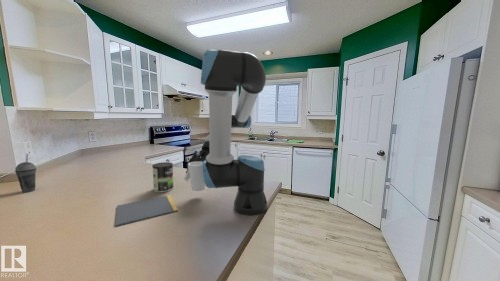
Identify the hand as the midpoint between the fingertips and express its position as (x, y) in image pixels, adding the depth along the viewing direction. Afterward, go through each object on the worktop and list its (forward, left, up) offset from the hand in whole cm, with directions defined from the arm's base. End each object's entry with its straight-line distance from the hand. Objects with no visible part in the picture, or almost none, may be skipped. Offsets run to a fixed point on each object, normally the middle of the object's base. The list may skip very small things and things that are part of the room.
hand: (194, 181), depth 92 cm
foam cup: (+2, -2, -5) cm, 6 cm away
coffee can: (+23, +11, -10) cm, 27 cm away
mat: (+2, +21, -9) cm, 23 cm away
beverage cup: (+56, +72, -10) cm, 91 cm away
